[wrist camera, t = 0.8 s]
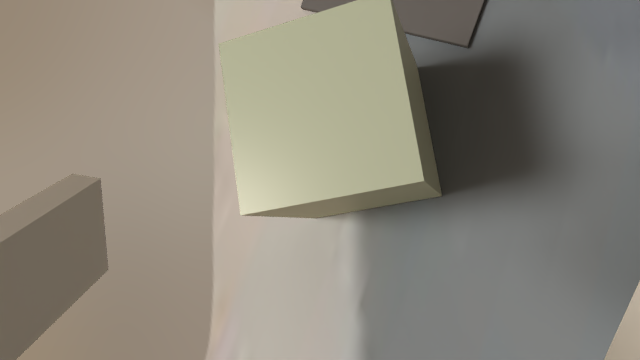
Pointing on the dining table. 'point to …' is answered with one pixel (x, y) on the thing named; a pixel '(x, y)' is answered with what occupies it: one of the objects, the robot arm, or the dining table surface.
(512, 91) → the dining table surface
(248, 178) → the sage green cube
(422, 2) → the mat
